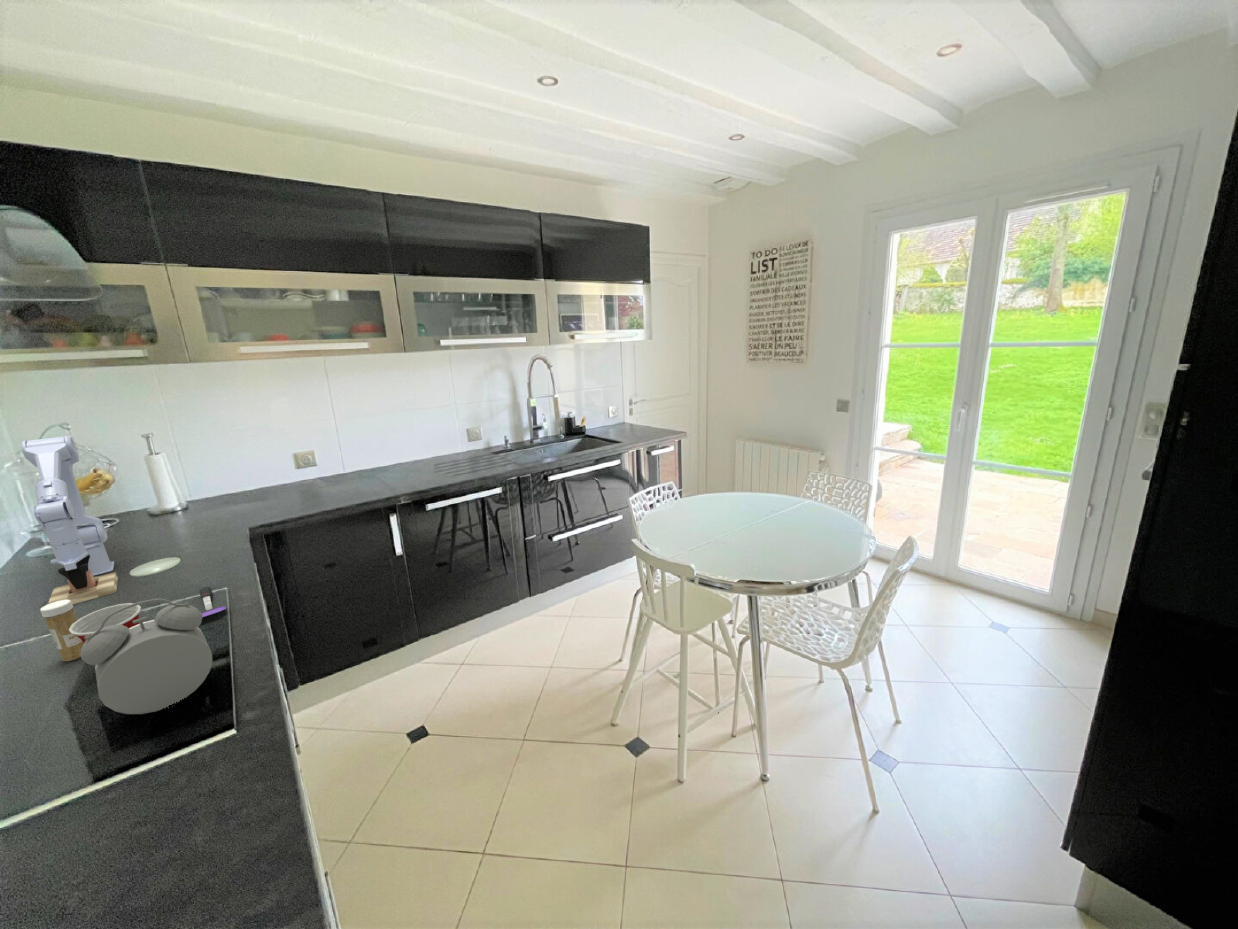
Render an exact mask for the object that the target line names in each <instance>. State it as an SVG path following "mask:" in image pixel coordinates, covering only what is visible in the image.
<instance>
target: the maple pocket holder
mask: <svg viewBox="0 0 1238 929" xmlns="http://www.w3.org/2000/svg"><path fill="white" fill-rule="evenodd" d="M117 575H118V574H117V572H116V571H114V572H110V573H107V574H106V573H105V574H101V575H100V576H99V575H98V576H94V579H95V582H96V584H97V586H96V587H92V588H89V589H85V590H81V591H78V592H74V593H72V592H71V589H70V587H69V584H68V583H67V584H65V585H61V586H57V587H54V588H53V589H52V592H51V594H50V595H51V596H50V598H49V600H48V603H47V605H48V604H50V603H53V602H56V601H60V600H70V601H71V602H72V605H73V606H74V605H75V604H76V605H77V604H79V603H83V602H86V601H90V600H94V599H97V598H100V597H104V596H108V595H111V594H115V593H117V590H118V588H117V587H118V583H119V577H118V576H117Z"/></svg>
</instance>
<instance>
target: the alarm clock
mask: <svg viewBox="0 0 1238 929" xmlns="http://www.w3.org/2000/svg"><path fill="white" fill-rule="evenodd" d="M159 601H160V602H164V603H166V604H169V605H168V606H165V607H163V608H161V609H160V610H159V611H158V612H157V613H156V615H155V617H154V619H151V620H148V616H143V617H141V618H140V617H139V619H137V620H134V621H133V624H135V623H138V622H139V624H138V625H136V626H133V627H131V628H128V627H126V626H123V625H117V624H116V625H111V626H106V627H104V624H105V622H106V621H107V620H108V619H109V618H110V617H111V616H113V615H114V614H116V613H118V612H121V611H123V610H125V609H128V608H130V607H133V606H136V605H139V606H140V605H142V604H143V605H144V604H148V603H152V602H153V603H154V602H159ZM201 613H202V612H201V611H200V610H199V609H198V608H197V607H195V606H193V605H190V601H187V602H184V603H176V602H172V601H171V600H169V599H166V598H165V599H164V598H162V597H161V598H160V597H159V598H151V599H146V600H142V601H138V602H134V604H131V605H128V606H126V607H123V608H121V609H119V610H117V611H115V612H113V613H111V614H109V615H108V616H107V617H106V618H105V619H104V620H103V622H102V624H101V626H100V628H99V629H98V630H97V631H96V632H94V633H93V634H92V635H91V636H90V635H88V636H85V637H84V638H85V639H86V641H85V643H84V644H83V646H82V649H81V654H80V656H81V657H80V658H81V660H82V662H85V664H88V665H89V666H90V665H91V666H95V667H94V668H95V669H94V670H95V676H96V677H95V679H96V686H97V694H98V698H99V700H100V701H101V702H102V704H103V705H104V706H105V707H106V708H109V709H110V710H112V711H114V712H115V713H120V714H125V715H145V714H149V713H153V712H158V711H161V710H163V708H164V709H167V708H169V707H168V706H169V705H172V704H174V703H175V704H177V703H179V702H181V701H183V700H185V699H186V698H187V697H189V696H190V695H192V693H194V692H196V690H197V689H198V688H199V687H200V686H201V685H202V684H203V683H204V681H205V680H206V678H207V676H209V673H210V672H211V668H212V665H213V653H212V651H211V648H210V647H209V644H208V642H207V639H206V637H205V635H204V633H203V632H202V630H201V628H199V627H200V626H201V624H202V620H203V617H202V614H201ZM146 620H148V621H146ZM103 627H104V628H103ZM184 698H185V699H184ZM182 699H183V700H182ZM180 700H181V701H180ZM176 702H177V703H176ZM175 704H174V705H175ZM172 706H173V705H172ZM166 707H167V708H166Z"/></svg>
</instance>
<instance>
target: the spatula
mask: <svg viewBox="0 0 1238 929" xmlns="http://www.w3.org/2000/svg"><path fill="white" fill-rule="evenodd" d="M199 595H200V599H201V600H203V601H202V602H203V604H204V608H205V611H204V612H201V614H202V618H204V617H207V616H210V615H213V614H216V613H219V612H222V611H224V610H226V609H227V607H226V606H224V605H223V606H220V607H217V608H214V609H213V604H212V603H213V602H212V601H211V597H212V588H211V587H210V586H205V587H201V588H200V589H199Z"/></svg>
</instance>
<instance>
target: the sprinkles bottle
mask: <svg viewBox="0 0 1238 929" xmlns="http://www.w3.org/2000/svg"><path fill="white" fill-rule="evenodd" d="M39 610H40V614H41V616H42V617H43V619H45V622H46V624H47V627H48V630H49V632H50V635H51V638H52V640H53V643H54V645H55V647H56V649H57V651H58V652H59V654H60V656H61V657H60V660H61V661H62V662H70V661H71V662H72V661H74V660H78V659H80V658H81V656H80V654H81V649H82V646H83V644H84V642H82V641H81V639H79V638H78V636H76V635H73V634H72V633H71V632H70V631H69V628H70V627H71V625H72V624H73V623H75V622H76V621H77V620H78V618H77V615H76V613H75V611H74V604H73V605H72V602H71V601H70V600H60V601H56V602H53V603H50V604H48V603H47V604H45V605H44V606H42V607H41V608H40V609H39Z"/></svg>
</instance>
